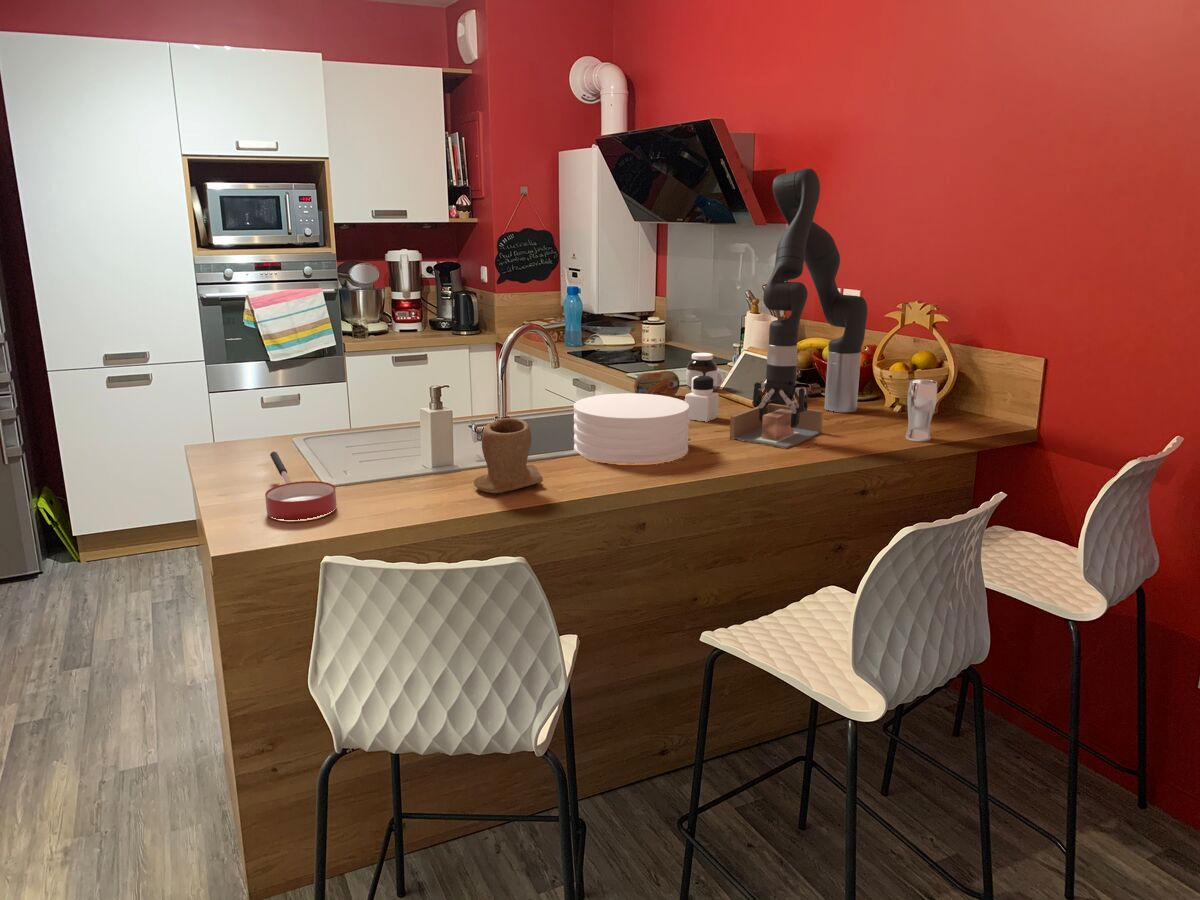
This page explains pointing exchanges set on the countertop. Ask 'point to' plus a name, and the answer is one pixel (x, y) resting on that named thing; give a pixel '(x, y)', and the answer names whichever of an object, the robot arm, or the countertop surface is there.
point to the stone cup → (507, 457)
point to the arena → (809, 425)
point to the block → (777, 425)
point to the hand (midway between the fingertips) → (778, 424)
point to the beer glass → (920, 408)
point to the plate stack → (631, 428)
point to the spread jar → (703, 369)
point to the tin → (657, 383)
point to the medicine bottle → (702, 399)
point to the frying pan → (298, 497)
